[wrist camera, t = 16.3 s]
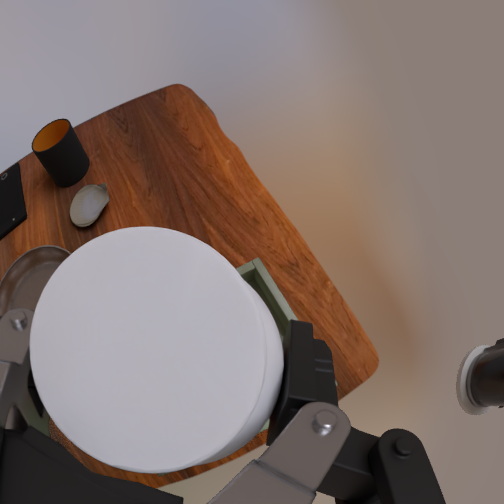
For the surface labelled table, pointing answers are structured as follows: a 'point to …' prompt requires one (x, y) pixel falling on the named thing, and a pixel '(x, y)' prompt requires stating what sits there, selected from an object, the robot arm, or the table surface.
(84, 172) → the mug
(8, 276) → the plant saucer
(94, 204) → the seashell
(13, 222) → the cell phone
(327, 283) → the table surface
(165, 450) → the pill bottle
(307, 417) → the robot arm
